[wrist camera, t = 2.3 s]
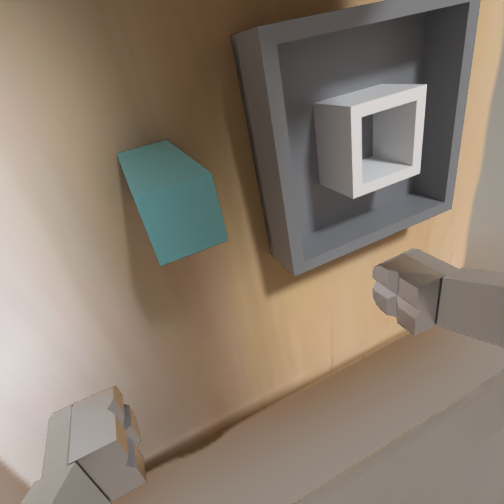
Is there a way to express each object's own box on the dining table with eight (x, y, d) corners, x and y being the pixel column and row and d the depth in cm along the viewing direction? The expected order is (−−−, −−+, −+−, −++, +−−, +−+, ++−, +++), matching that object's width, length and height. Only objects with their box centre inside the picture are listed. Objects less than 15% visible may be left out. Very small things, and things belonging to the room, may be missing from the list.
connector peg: (116, 153, 26) (132, 197, 16) (166, 139, 27) (211, 172, 17) (135, 201, 28) (160, 266, 18) (181, 186, 29) (228, 240, 19)
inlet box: (230, 35, 25) (264, 24, 20) (430, -6, 31) (495, -23, 26) (271, 254, 36) (299, 281, 31) (415, 196, 41) (459, 211, 36)
